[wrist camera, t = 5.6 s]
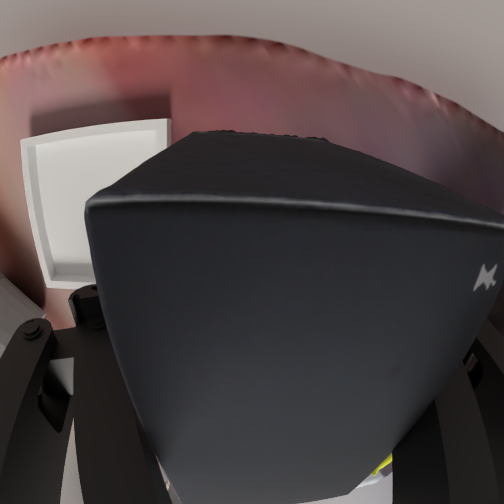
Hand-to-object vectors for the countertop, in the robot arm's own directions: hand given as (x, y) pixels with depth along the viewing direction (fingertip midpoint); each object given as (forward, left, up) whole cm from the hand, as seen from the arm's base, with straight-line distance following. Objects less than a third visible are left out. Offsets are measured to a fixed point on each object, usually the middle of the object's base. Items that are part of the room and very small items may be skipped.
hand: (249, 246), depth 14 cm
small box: (0, 0, -1) cm, 1 cm away
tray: (+15, +3, -17) cm, 23 cm away
